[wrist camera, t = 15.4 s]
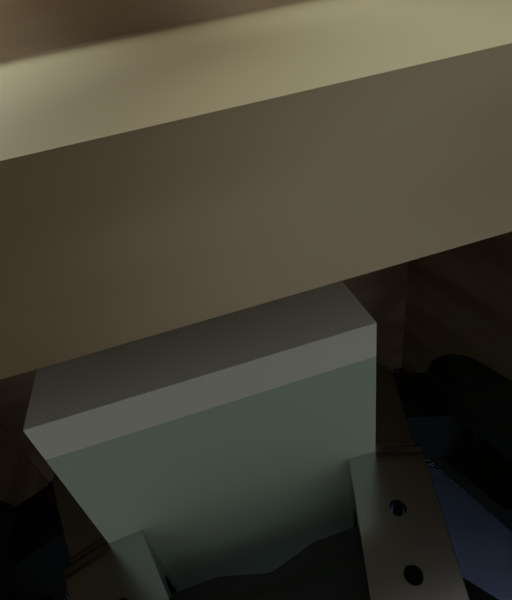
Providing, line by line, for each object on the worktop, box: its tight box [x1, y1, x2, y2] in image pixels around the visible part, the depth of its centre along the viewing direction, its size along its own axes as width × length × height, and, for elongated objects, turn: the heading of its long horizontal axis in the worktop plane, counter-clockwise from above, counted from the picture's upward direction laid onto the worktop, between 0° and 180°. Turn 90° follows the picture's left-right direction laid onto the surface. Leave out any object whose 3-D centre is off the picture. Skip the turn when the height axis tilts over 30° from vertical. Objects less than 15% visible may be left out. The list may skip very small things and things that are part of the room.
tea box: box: [23, 281, 377, 590], centre depth 11 cm, size 4×7×11 cm, turn 15°
